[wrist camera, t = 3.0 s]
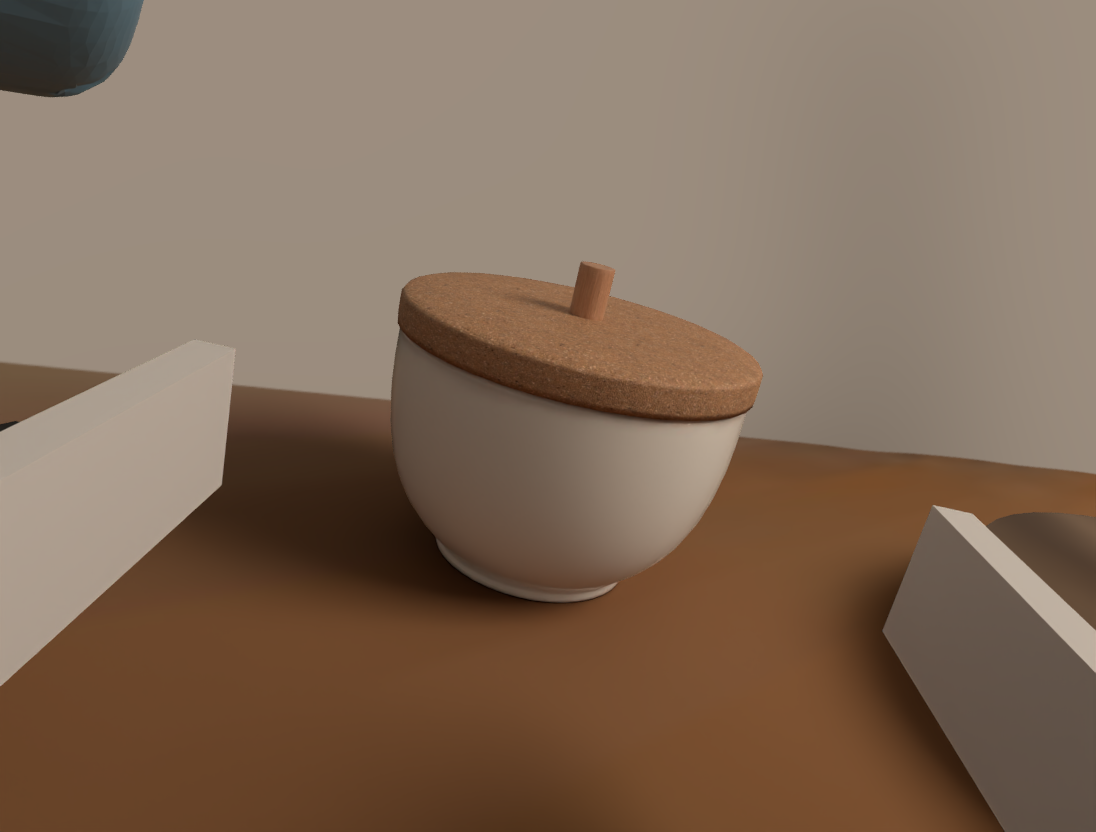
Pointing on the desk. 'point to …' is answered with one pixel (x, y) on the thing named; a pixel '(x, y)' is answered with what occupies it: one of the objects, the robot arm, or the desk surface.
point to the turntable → (1056, 554)
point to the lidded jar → (559, 427)
